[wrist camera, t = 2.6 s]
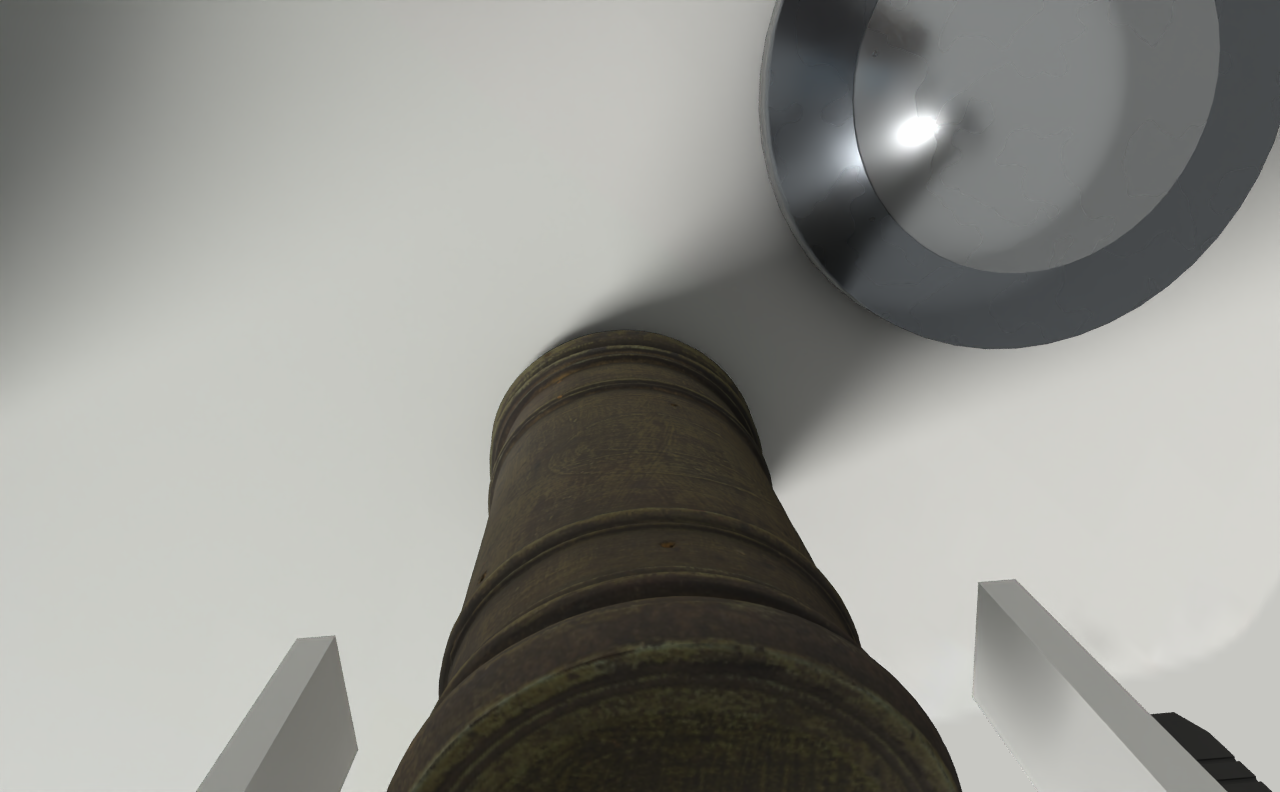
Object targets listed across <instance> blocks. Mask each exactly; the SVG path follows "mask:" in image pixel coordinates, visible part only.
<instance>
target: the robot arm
mask: <svg viewBox="0 0 1280 792" xmlns="http://www.w3.org/2000/svg"><path fill="white" fill-rule="evenodd" d="M972 698H973V699H974V701H975V702H976V703H977V705H978V706H979V708H980V709H981V711H982V712H983V714H984V715H985V716H986V718H987V719H988V721H989V722H990V724H991V725H992V726H993V728H994V729H995V731H996V732H997V734H998V735H999V737H1000V738H1001V739H1002V741H1003V742H1004V744H1005V745H1006V747H1007V748H1008V750H1009V751H1010V752H1011V754H1012V755H1013V757H1014V758H1015V759H1016V761H1017V763H1018V764H1019V766H1020V767H1021V768H1022V770H1023V771H1024V773H1025V774H1026V775H1027V777H1028V778H1029V780H1030V781H1031V783H1032V784H1033V786H1034V787H1035V788H1036V790H1037V792H1272V791H1271V790H1270V789H1269V788H1268V787H1267V786H1266V785H1265V784H1263V783H1262V782H1258V781H1257V780H1256V776H1255V775H1254V774H1253V773H1252V772H1251V771H1250V770H1248V769H1247V768H1246V767H1245V766H1244V765H1243V764H1242V763H1241V762H1240V761H1236V760H1235V757H1234V756H1233V755H1232V754H1231V753H1230V752H1229V751H1228V750H1227V749H1226V748H1225V747H1224V746H1223V745H1222V744H1221V743H1220V742H1219V741H1217V740H1216V739H1215V738H1214V737H1213V736H1212V735H1211V734H1210V733H1209V732H1207V731H1206V730H1204V729H1202V728H1200V727H1199V726H1197V725H1195V724H1193V723H1192V722H1190V721H1188V720H1187V719H1185V718H1183V717H1181V716H1179V715H1178V714H1176V713H1174V712H1171V713H1160V714H1149V713H1148V712H1147V711H1146V710H1145V709H1144V708H1143V707H1142V706H1141V705H1140V704H1139V703H1138V702H1137V701H1136V700H1135V699H1134V698H1133V697H1132V696H1131V695H1130V694H1129V693H1128V692H1127V691H1126V690H1125V689H1124V688H1123V687H1122V686H1121V685H1120V684H1119V683H1118V682H1117V681H1116V680H1115V679H1114V678H1113V677H1112V676H1111V675H1110V674H1109V673H1108V672H1107V671H1106V670H1105V669H1104V668H1103V667H1102V666H1101V665H1100V664H1099V663H1098V662H1097V661H1096V660H1095V659H1094V658H1093V657H1092V656H1091V655H1090V654H1089V653H1088V652H1087V651H1086V650H1085V649H1084V648H1083V647H1082V646H1081V645H1080V644H1079V643H1078V642H1077V641H1076V640H1075V639H1074V638H1073V637H1072V636H1071V635H1070V634H1069V633H1068V632H1067V631H1066V630H1065V629H1064V628H1063V627H1062V625H1061V624H1060V623H1059V622H1058V621H1057V620H1056V619H1055V618H1054V617H1053V616H1052V615H1051V614H1050V613H1049V612H1048V611H1047V610H1046V609H1045V608H1044V607H1043V606H1042V605H1041V604H1040V603H1039V602H1038V601H1037V600H1036V599H1035V598H1034V597H1033V596H1032V595H1031V594H1030V593H1029V592H1028V591H1027V590H1026V589H1025V588H1024V587H1023V586H1022V585H1021V584H1020V583H1019V582H1018V581H1017V580H1016V579H1012V580H1000V581H988V582H978V600H977V618H976V636H975V654H974V672H973V690H972ZM357 751H358V747H357V742H356V737H355V732H354V727H353V722H352V717H351V712H350V707H349V702H348V697H347V692H346V687H345V682H344V677H343V672H342V667H341V662H340V657H339V652H338V647H337V642H336V637H335V636H324V637H312V638H299V639H296V641H295V642H294V644H293V645H292V647H291V649H290V650H289V652H288V653H287V655H286V656H285V658H284V659H283V661H282V662H281V664H280V665H279V667H278V668H277V670H276V671H275V673H274V674H273V676H272V677H271V679H270V680H269V682H268V683H267V685H266V686H265V688H264V689H263V691H262V692H261V694H260V695H259V697H258V698H257V700H256V702H255V703H254V705H253V706H252V708H251V709H250V711H249V712H248V714H247V715H246V717H245V718H244V720H243V721H242V723H241V724H240V726H239V727H238V729H237V730H236V732H235V733H234V735H233V736H232V738H231V739H230V741H229V742H228V744H227V745H226V747H225V748H224V750H223V751H222V753H221V754H220V756H219V758H218V759H217V761H216V762H215V764H214V765H213V767H212V768H211V770H210V771H209V773H208V774H207V776H206V777H205V779H204V780H203V782H202V783H201V785H200V786H199V788H198V789H197V791H196V792H340V791H341V788H342V786H343V784H344V781H345V779H346V777H347V774H348V772H349V770H350V767H351V765H352V763H353V760H354V758H355V756H356V753H357Z"/></svg>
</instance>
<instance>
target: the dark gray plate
mask: <svg viewBox="0 0 1280 792" xmlns="http://www.w3.org/2000/svg"><path fill="white" fill-rule="evenodd" d="M759 118H760V130H761V142H762V148H763V153H764V157H765V162H766V167H767V171H768V176H769V179H770V182H771V185H772V188H773V190H774V193H775V196H776V199H777V202H778V205H779V207H780V210H781V212H782V213H783V215H784V217H785V219H786V221H787V223H788V225H789V227H790V229H791V231H792V233H793V235H794V237H795V238H796V240H797V241H798V242H799V244H800V245H801V247H802V248H803V250H804V251H805V252H806V254H807V255H808V257H809V258H810V260H811V261H812V262H813V263H814V264H815V265H816V267H817V268H818V269H819V270H820V271H821V272H822V273H823V274H824V275H825V276H826V277H827V278H828V279H829V280H830V282H831V283H832V284H834V285H835V286H836V287H837V288H838V289H840V290H841V291H842V292H843V293H845V294H846V295H847V296H848V297H850V298H851V299H852V300H853V301H855V302H856V303H858V304H859V305H861V306H863V307H864V308H866V309H868V310H869V311H871V312H873V313H874V314H876V315H878V316H879V317H881V318H883V319H885V320H887V321H889V322H890V323H892V324H894V325H896V326H898V327H901V328H903V329H905V330H908V331H910V332H913V333H915V334H917V335H920V336H922V337H925V338H928V339H932V340H936V341H940V342H944V343H948V344H951V345H956V346H965V347H973V348H982V349H1012V348H1023V347H1030V346H1037V345H1043V344H1049V343H1053V342H1056V341H1060V340H1064V339H1067V338H1071V337H1075V336H1078V335H1081V334H1083V333H1086V332H1088V331H1091V330H1093V329H1096V328H1098V327H1101V326H1103V325H1105V324H1108V323H1110V322H1112V321H1114V320H1116V319H1117V318H1119V317H1121V316H1123V315H1125V314H1127V313H1128V312H1130V311H1132V310H1134V309H1136V308H1138V307H1139V306H1141V305H1142V304H1144V303H1145V302H1146V301H1148V300H1149V299H1151V298H1152V297H1154V296H1155V295H1156V294H1158V293H1159V292H1161V291H1162V290H1163V289H1165V288H1166V287H1168V286H1169V285H1170V284H1171V283H1172V282H1173V281H1174V280H1176V279H1177V278H1178V277H1179V276H1180V275H1181V274H1182V273H1184V272H1185V271H1186V270H1187V269H1188V268H1189V267H1190V266H1192V265H1193V264H1194V263H1195V262H1196V261H1197V259H1198V258H1199V257H1200V256H1201V255H1202V254H1203V253H1204V252H1205V251H1206V250H1207V249H1208V248H1209V246H1210V245H1211V244H1212V243H1213V242H1214V241H1215V240H1216V239H1217V238H1218V237H1219V235H1220V234H1221V232H1222V231H1223V230H1224V228H1225V227H1226V226H1227V224H1228V223H1229V222H1230V220H1231V219H1232V218H1233V216H1234V215H1235V214H1236V212H1237V211H1238V210H1239V208H1240V207H1241V205H1242V203H1243V202H1244V200H1245V198H1246V196H1247V195H1248V193H1249V191H1250V190H1251V188H1252V186H1253V185H1254V183H1255V181H1256V179H1257V178H1258V176H1259V174H1260V172H1261V170H1262V167H1263V165H1264V163H1265V161H1266V159H1267V156H1268V154H1269V152H1270V150H1271V148H1272V145H1273V143H1274V141H1275V138H1276V134H1277V131H1278V128H1279V125H1280V0H776V3H775V7H774V10H773V14H772V17H771V21H770V24H769V28H768V31H767V35H766V39H765V46H764V52H763V58H762V65H761V71H760V89H759Z"/></svg>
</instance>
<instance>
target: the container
mask: <svg viewBox="0 0 1280 792" xmlns="http://www.w3.org/2000/svg"><path fill="white" fill-rule="evenodd" d="M490 480H491V481H490V485H489V495H488V512H489V518H488V521H487V525H486V529H485V533H484V536H483V539H482V543H481V546H480V550H479V553H478V557H477V560H476V563H475V567H474V570H473V573H472V577H471V580H470V583H469V587H468V590H467V594H466V597H465V601H464V604H463V608H462V611H461V613H460V615H459V617H458V619H457V621H456V622H455V624H454V626H453V628H452V631H451V633H450V636H449V639H448V642H447V645H446V649H445V653H444V657H443V661H442V667H441V672H440V678H439V700H438V702H437V703H436V705H435V707H434V709H433V711H432V713H431V715H430V717H429V718H428V719H427V721H426V722H425V723H424V725H423V726H422V728H421V729H420V731H419V732H418V733H417V735H416V736H415V738H414V739H413V741H412V742H411V744H410V746H409V748H408V749H407V751H406V753H405V755H404V757H403V758H402V760H401V762H400V764H399V766H398V768H397V770H396V772H395V774H394V776H393V778H392V780H391V782H390V785H389V787H388V790H387V792H962V789H961V786H960V783H959V779H958V776H957V773H956V770H955V767H954V765H953V762H952V760H951V757H950V755H949V752H948V750H947V748H946V746H945V744H944V743H943V741H942V739H941V737H940V735H939V733H938V731H937V729H936V728H935V726H934V725H933V723H932V722H931V720H930V719H929V717H928V716H927V714H926V713H925V712H924V710H923V709H922V708H921V706H920V705H919V704H918V702H917V701H916V700H915V699H914V698H913V696H912V695H911V694H910V693H909V692H908V691H907V690H906V689H905V688H904V687H903V686H902V685H901V683H900V682H899V681H898V680H897V679H896V678H895V677H894V676H893V675H892V674H891V673H889V672H888V671H887V670H886V669H885V668H883V667H882V666H881V665H880V664H878V663H877V662H876V661H875V660H874V659H872V658H871V657H870V656H869V655H868V654H867V653H866V652H865V651H864V650H863V649H862V648H861V644H860V641H859V637H858V633H857V631H856V628H855V626H854V623H853V621H852V619H851V616H850V614H849V612H848V610H847V608H846V606H845V604H844V603H843V601H842V599H841V597H840V596H839V594H838V593H837V591H836V590H835V589H834V587H833V586H832V585H831V583H830V582H829V581H828V580H827V578H826V577H825V576H824V575H823V574H822V573H821V572H820V570H819V569H818V568H817V567H816V566H815V564H814V562H813V560H812V558H811V556H810V554H809V553H808V551H807V549H806V548H805V546H804V544H803V542H802V540H801V538H800V537H799V535H798V533H797V532H796V530H795V528H794V527H793V525H792V523H791V521H790V520H789V518H788V516H787V514H786V512H785V510H784V508H783V506H782V505H781V503H780V501H779V499H778V498H777V496H776V494H775V492H774V491H773V487H772V482H771V477H770V473H769V470H768V467H767V465H766V462H765V460H764V457H763V454H762V448H761V443H760V439H759V436H758V433H757V430H756V427H755V425H754V422H753V420H752V417H751V414H750V411H749V409H748V407H747V404H746V402H745V400H744V398H743V396H742V394H741V393H740V391H739V390H738V388H737V387H736V385H735V384H734V382H733V381H732V380H731V379H730V378H729V376H728V375H727V374H726V373H725V372H724V371H723V370H722V369H721V368H720V367H719V366H718V365H717V364H716V363H715V362H713V361H712V360H711V359H709V358H708V357H707V356H706V355H704V354H703V353H701V352H700V351H698V350H696V349H694V348H692V347H690V346H688V345H686V344H684V343H682V342H680V341H678V340H675V339H673V338H670V337H667V336H663V335H660V334H656V333H651V332H645V331H636V330H615V331H605V332H599V333H594V334H590V335H586V336H582V337H579V338H576V339H574V340H571V341H568V342H566V343H564V344H562V345H560V346H558V347H556V348H554V349H553V350H551V351H549V352H547V353H546V354H544V355H543V356H542V357H540V358H539V359H537V360H536V361H535V362H534V363H532V364H531V365H530V366H529V367H528V368H527V369H525V370H524V371H523V372H522V373H521V374H520V375H519V377H518V378H517V379H516V380H515V381H514V383H513V384H512V385H511V387H510V388H509V390H508V391H507V393H506V394H505V396H504V398H503V400H502V402H501V404H500V406H499V409H498V411H497V414H496V417H495V421H494V425H493V431H492V440H491V449H490Z"/></svg>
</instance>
